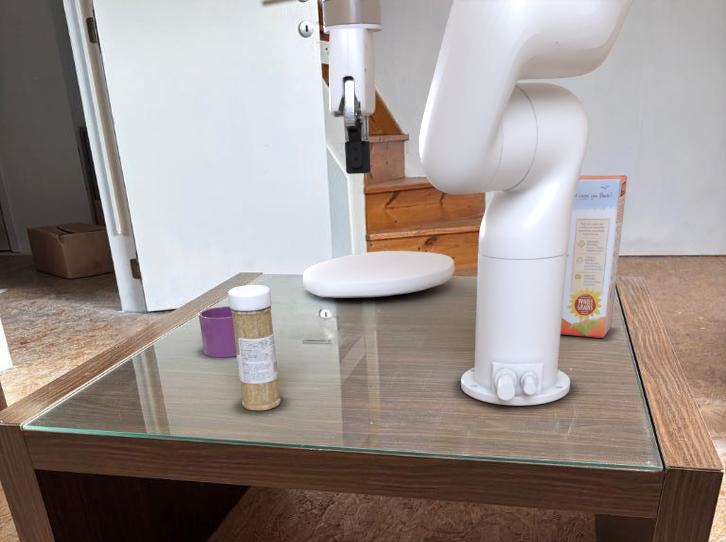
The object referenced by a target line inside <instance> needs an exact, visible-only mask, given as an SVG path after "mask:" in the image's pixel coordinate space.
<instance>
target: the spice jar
mask: <svg viewBox="0 0 726 542" xmlns="http://www.w3.org/2000/svg"><path fill="white" fill-rule="evenodd" d="M271 294H272V293H271V289H270V287H268V286H267V285H264V284H263V285H262V284H247V285H245V284H244V285H240V286H235V287H232V288H231V289H229V290H228V291H227V297H228V306H230V308H231V312H232V317H233V325H234V334H235V342H236V351H237V356H236V363H237V371H238V378H239V379H238V380H239V381H240V391H241V399H242V400H241V405H242V407H243V408H245V409H246V410H249V411H260V412H261V411H268V410H272V409H274V408H276V407H278V406H279V405H280V404H281V400H282V399H281V396H280V390H279V382H278V381H279V380H278V376H279V373H278V363H277V353H276V344H275V343H276V342H275V333H274V329H273V320H272V319H273V318H272V311H271V310H272V304H273V303H272V295H271Z"/></svg>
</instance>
